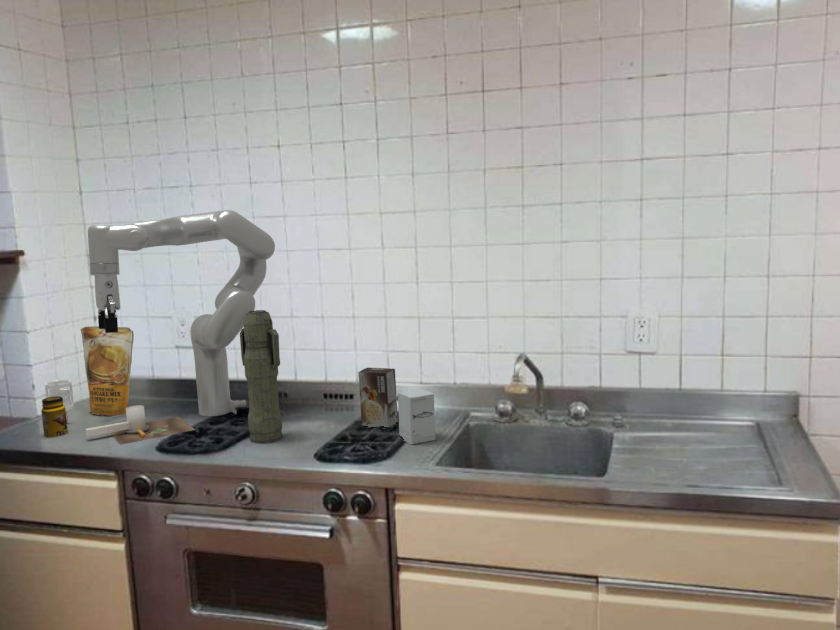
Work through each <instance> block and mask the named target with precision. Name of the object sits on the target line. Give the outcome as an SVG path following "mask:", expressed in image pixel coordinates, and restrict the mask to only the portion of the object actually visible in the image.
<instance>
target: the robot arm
mask: <svg viewBox="0 0 840 630" xmlns="http://www.w3.org/2000/svg"><path fill="white" fill-rule="evenodd" d="M221 240H227V241H229V242H230V243H231V244H233V245H234V246H235V247H236V248H237V252H238V254H239V265H238V268H237V269H236V271H235V272H234V274H233V275H232V277H231V278H230V279H229V280H228V281H227V282H226V284H225V285H224V286H223V288H222V289H221V290H220V292H218V294H217V295H216V296H215V301H214V307H215V311H214V312H213V313H212V314H209V313H208V314H201V315H199V316H197V317H196V318H195V319H194V320H193V322H192V323H191V325H190V342H191V345H192V349H193V357H194V371H195V378H196V379H195V381H196V383H195V384H196V392H197V393H196V394H197V405H198V415H199V416H202V417H218V416H223V415H227V414H229V413H232V414H234V415H237V414H238V413H237V410H236V409H237V408H239V407H240V408H241V407H246V406H247V401H246V399H242V400H240V399H237V400H232V398H231V393H230V392H231V391H230V379H229V367H228V366H229V365H228V355H227V349H226V347H228V346H229V345H230V344H231V343H233V341H234V340H235V339H236V337H237V336H239V335H238V334H240V332H241V330H242V329H243V328H244V319H245V315H246V313H248V312H249V311H256V310H255V309H256V299H255V296H254V295H255V294H256V293H257V291H258V289H259V288H260V287H261V285H262V284H263V282H264V281H265V278H266V275H267V274H266V273H267V260H269V259H270V258H271V257H272V256H273V255H274V253H275V250H276V245H275V242H274V241H275V240H274V239H273V238H272V236H271V235H270V234H268V232H266V231H265V230H263V229H262V228H260V227H258V226H257V225H256V224H254V223H253V222H251V221H250V219H249V220H248V219H247V218H246V217H245V216H243V215H242V214H240V213H238V212H236V211H234V210H230V209H227V210H217V211H215V210H214V211H209V212H202V213H194V214H186V215H177V216H172V217H168V218H165V219H164V218H163V219H160V220H159V219H158V220H152V221H151V220H150V221H144V222H137V223H128V224H123V225H111V224H93V225H90V226H89V227H88V228H87V242H88V259H89V262H88V263H89V274H90V276H94V294H95V295H94V296H95V306H96V308H97V313H98V315H97V319H98V321H97V323H98V327H99V329H105V332H106V333H113V332H118V327H119V324H118V315H117V311H120V310H121V300H120V288H119V280H118V277H117V276H118V275H120V274H121V273H120V263H119V262H120V258H119V251H120V250H121V251H122V250H123V251H129V252H130V251H131V252H138V251H141V250H143V249H146V248H147V249H148V248H154V247H155V248H156V247H161V246H162V247H163V246H175V247H177V246H187V245H193V244H200V243H207V242H212V241H221Z"/></svg>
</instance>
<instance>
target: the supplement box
mask: <svg viewBox="0 0 840 630" xmlns="http://www.w3.org/2000/svg"><path fill="white" fill-rule="evenodd" d="M397 414H398V431H399V433H398V435H400V436H402V437H403V439H404V440H403V441H404V442H405V443H407V444H408V445H409V444H410V445H411V446H412V445H414V444H420V443H426V442H430V441H435V440H436V417H435V416H436V415H435V393H433V392H431V391H428V390H425V389H423V388H421V389H419V388H418V389H414V390H413V389H412V390H407V391H400V392H397Z"/></svg>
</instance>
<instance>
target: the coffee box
mask: <svg viewBox="0 0 840 630" xmlns="http://www.w3.org/2000/svg"><path fill="white" fill-rule="evenodd" d="M357 373H358V375H357V376H358V384H359V385H358V390H359V402H360V418H361V419H360V420H361V426H362V425H363V426H368V427H367V428H371V427H376V426H384V427H390V426H392V425H393V424H395V423H396V422H398V423H399V414H398V396H397V385H396V383H397V382H396V381H397V380H396V369H395V368H390V367H387V368H385V367H366V368H363V369H361V370H359V371H358V372H357Z"/></svg>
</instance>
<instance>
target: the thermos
mask: <svg viewBox="0 0 840 630" xmlns="http://www.w3.org/2000/svg"><path fill="white" fill-rule="evenodd" d="M273 327H274V324H273V319H272V317H271V314H270V312H269V311H267V310H264V309H263V310H262V309H258V310H257V309H256V310H254V311H249V312H248V313H246V315H245V319H244V327H243V328H242V329H241V331H240V332H239V340H240V341H239V343H240V353H241V354H240V356H241V363H242V366H244V376H245V379H246V380H247V393H248V407H249V412H248V415H247V420H248V421H247V422H248V432H249V436H250V437H249V438H250V439H249V440H250V442H252V443H254V444H268V443H273V442H274V443H275V442H277V441H280V440H281V439H282V438H283V418H282V412H281V410H280V406H279V405H280V402H279V389H278V376H279V366H280V365H281V358H280V336H279V333H278V331H277V329H276V328H275V329H274V328H273Z"/></svg>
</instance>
